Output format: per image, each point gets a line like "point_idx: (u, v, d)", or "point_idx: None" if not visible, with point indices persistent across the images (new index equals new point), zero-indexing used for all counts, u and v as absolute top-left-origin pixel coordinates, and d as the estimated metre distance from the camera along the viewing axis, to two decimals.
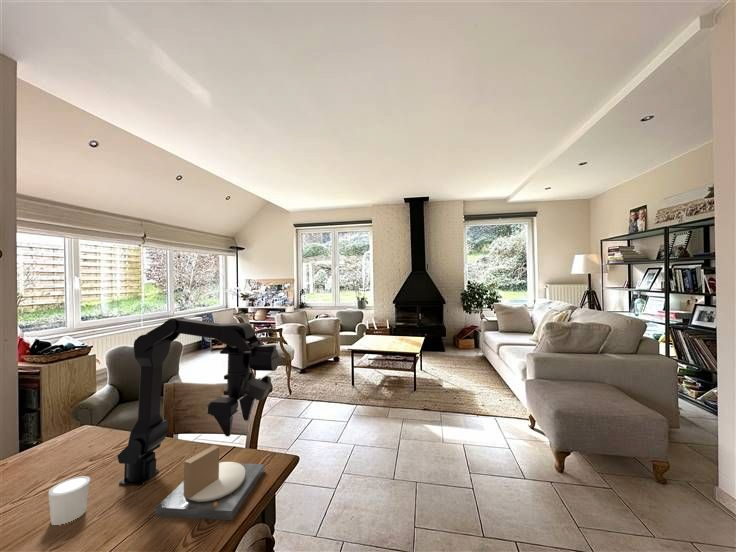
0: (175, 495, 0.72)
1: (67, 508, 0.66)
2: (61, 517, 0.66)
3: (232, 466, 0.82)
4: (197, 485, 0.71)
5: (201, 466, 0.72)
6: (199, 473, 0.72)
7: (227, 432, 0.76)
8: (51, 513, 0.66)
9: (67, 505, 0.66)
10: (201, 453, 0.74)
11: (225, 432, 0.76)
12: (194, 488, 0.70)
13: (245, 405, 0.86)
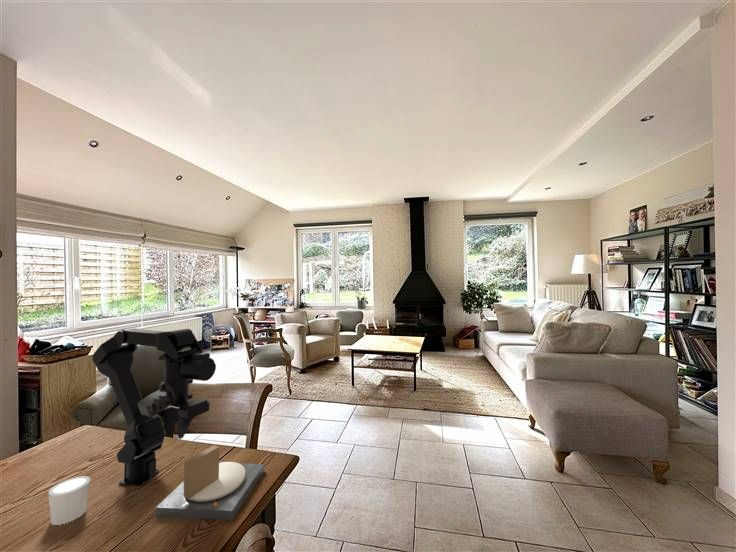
0: (175, 495, 0.72)
1: (67, 508, 0.66)
2: (61, 517, 0.66)
3: (232, 466, 0.82)
4: (197, 485, 0.71)
5: (201, 466, 0.72)
6: (199, 473, 0.72)
7: None
8: (51, 513, 0.66)
9: (67, 505, 0.66)
10: (201, 453, 0.74)
11: None
12: (194, 488, 0.70)
13: None
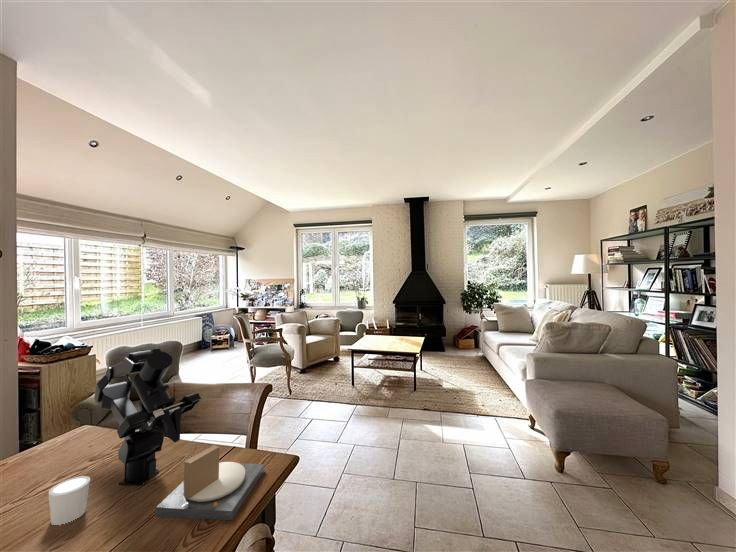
0: (175, 495, 0.72)
1: (67, 508, 0.66)
2: (61, 517, 0.66)
3: (232, 466, 0.82)
4: (197, 485, 0.71)
5: (201, 466, 0.72)
6: (199, 473, 0.72)
7: None
8: (51, 513, 0.66)
9: (68, 505, 0.66)
10: (201, 453, 0.74)
11: None
12: (194, 488, 0.70)
13: None
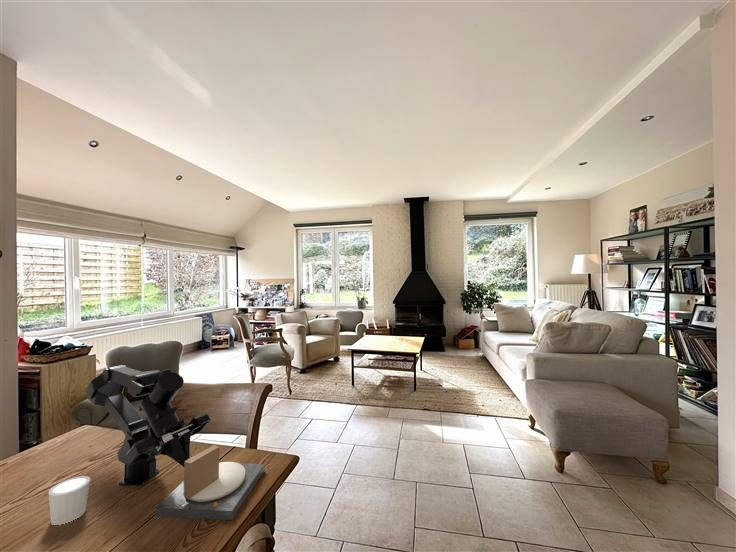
0: (175, 495, 0.72)
1: (67, 508, 0.66)
2: (61, 517, 0.66)
3: (232, 466, 0.82)
4: (197, 485, 0.71)
5: (201, 466, 0.72)
6: (199, 473, 0.72)
7: None
8: (51, 513, 0.66)
9: (68, 505, 0.66)
10: (201, 453, 0.74)
11: None
12: (194, 488, 0.70)
13: None
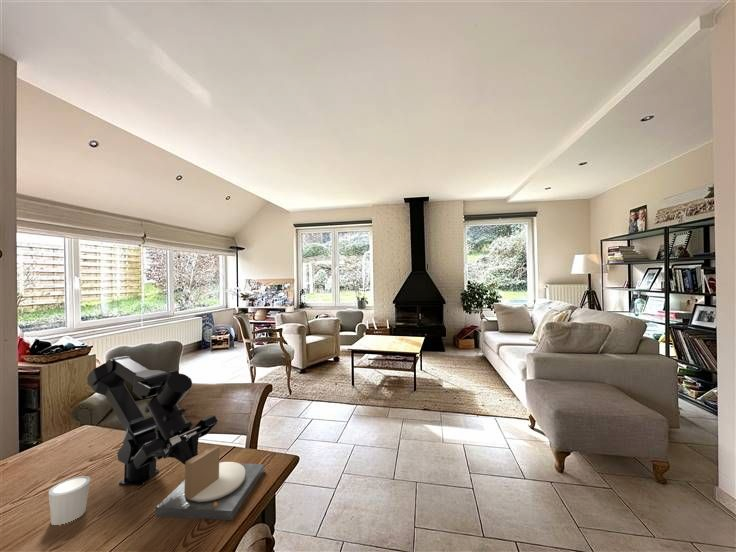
0: (175, 495, 0.72)
1: (67, 508, 0.66)
2: (61, 517, 0.66)
3: (231, 466, 0.82)
4: (198, 485, 0.71)
5: (202, 466, 0.72)
6: (200, 473, 0.72)
7: None
8: (51, 513, 0.66)
9: (68, 505, 0.66)
10: (201, 453, 0.74)
11: None
12: (196, 489, 0.70)
13: None
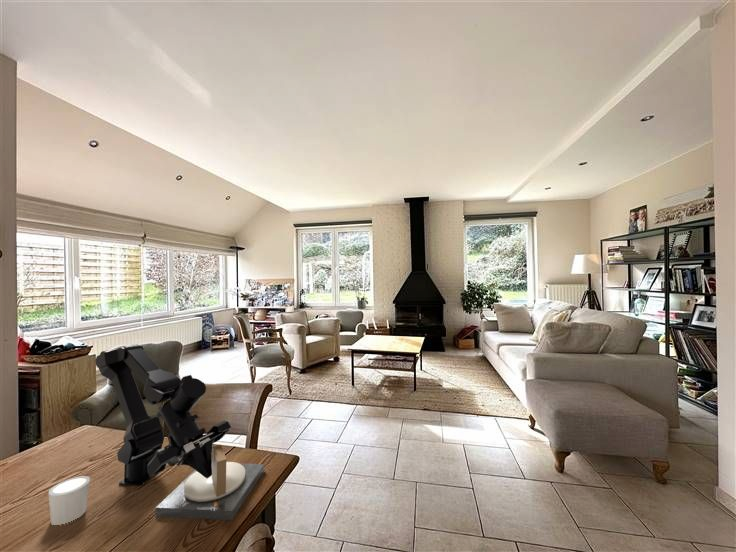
0: (175, 495, 0.72)
1: (67, 508, 0.66)
2: (61, 517, 0.66)
3: None
4: None
5: None
6: None
7: None
8: (51, 513, 0.66)
9: (68, 505, 0.66)
10: (216, 453, 0.74)
11: None
12: None
13: None
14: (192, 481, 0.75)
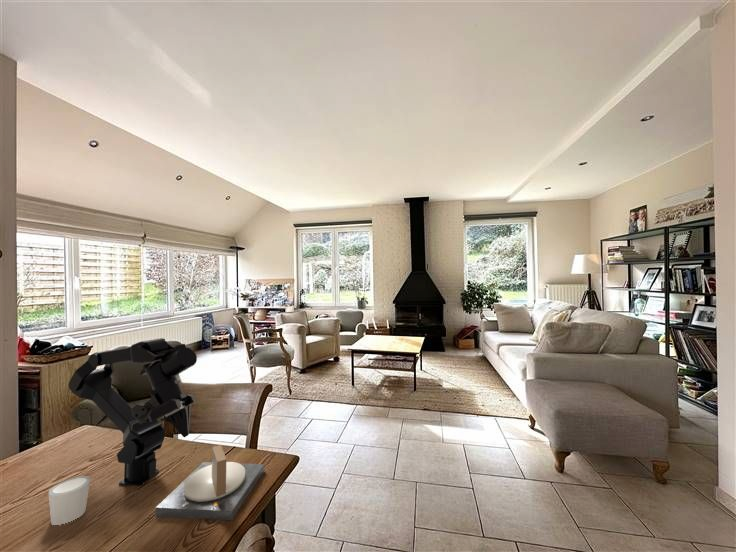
0: (175, 495, 0.72)
1: (67, 508, 0.66)
2: (61, 517, 0.66)
3: None
4: None
5: None
6: None
7: None
8: (51, 513, 0.66)
9: (67, 505, 0.66)
10: (216, 453, 0.74)
11: None
12: None
13: None
14: (192, 481, 0.75)
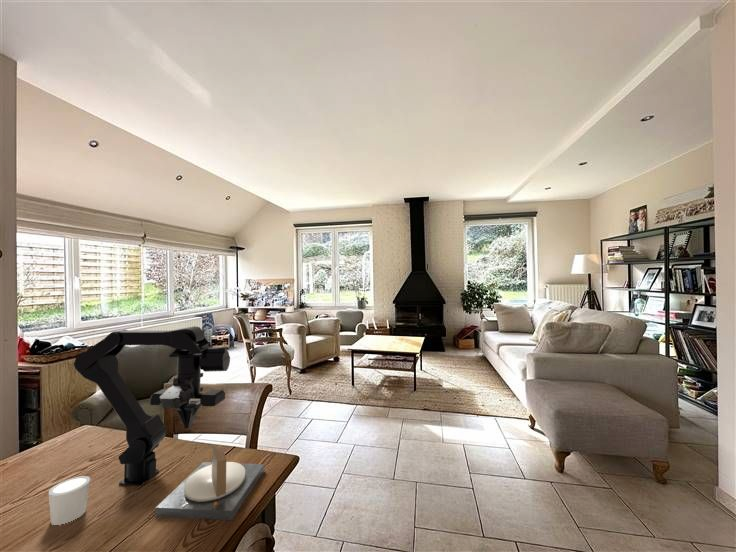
0: (175, 495, 0.72)
1: (67, 508, 0.66)
2: (61, 517, 0.66)
3: None
4: None
5: None
6: None
7: None
8: (51, 513, 0.66)
9: (68, 505, 0.66)
10: (216, 453, 0.74)
11: None
12: None
13: None
14: (192, 481, 0.75)
